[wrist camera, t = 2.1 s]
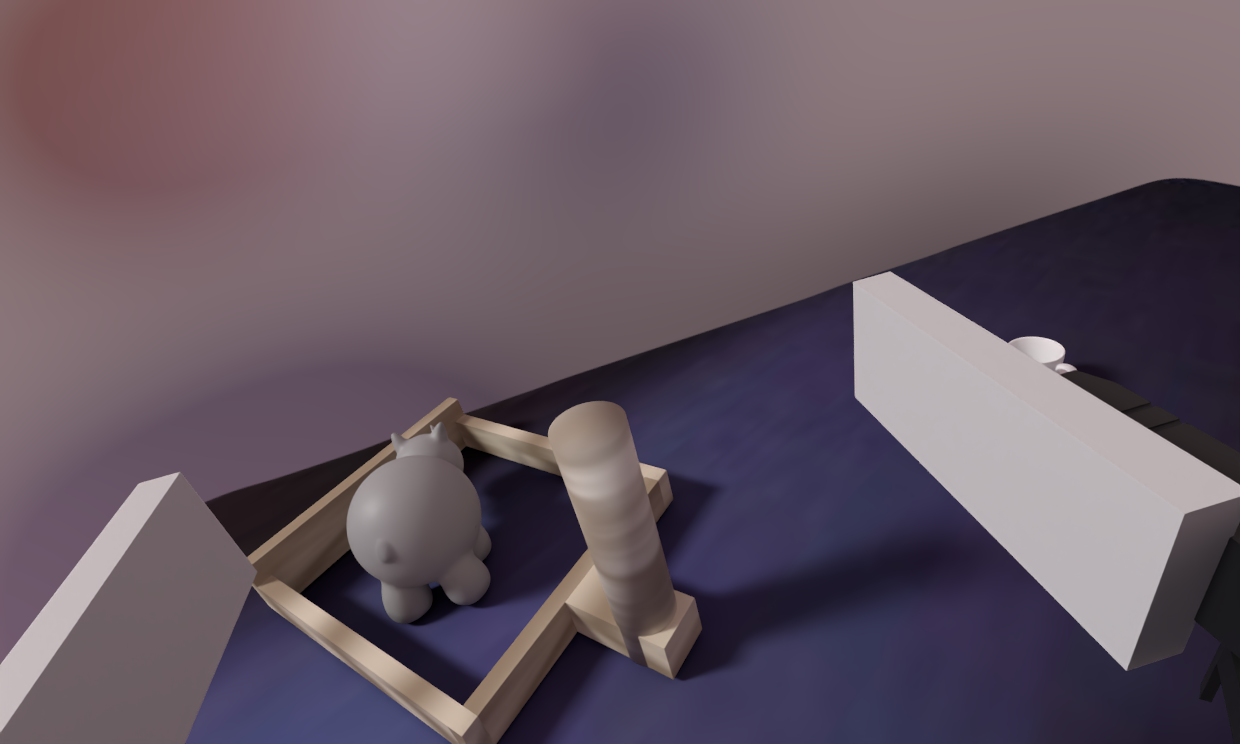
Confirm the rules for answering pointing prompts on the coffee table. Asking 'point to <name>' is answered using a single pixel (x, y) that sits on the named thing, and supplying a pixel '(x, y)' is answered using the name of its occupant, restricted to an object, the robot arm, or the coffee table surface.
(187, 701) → the robot arm
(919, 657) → the coffee table surface
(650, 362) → the coffee table surface
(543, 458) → the pull frame
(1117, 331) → the coffee table surface
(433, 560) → the chubby cartoon animal
